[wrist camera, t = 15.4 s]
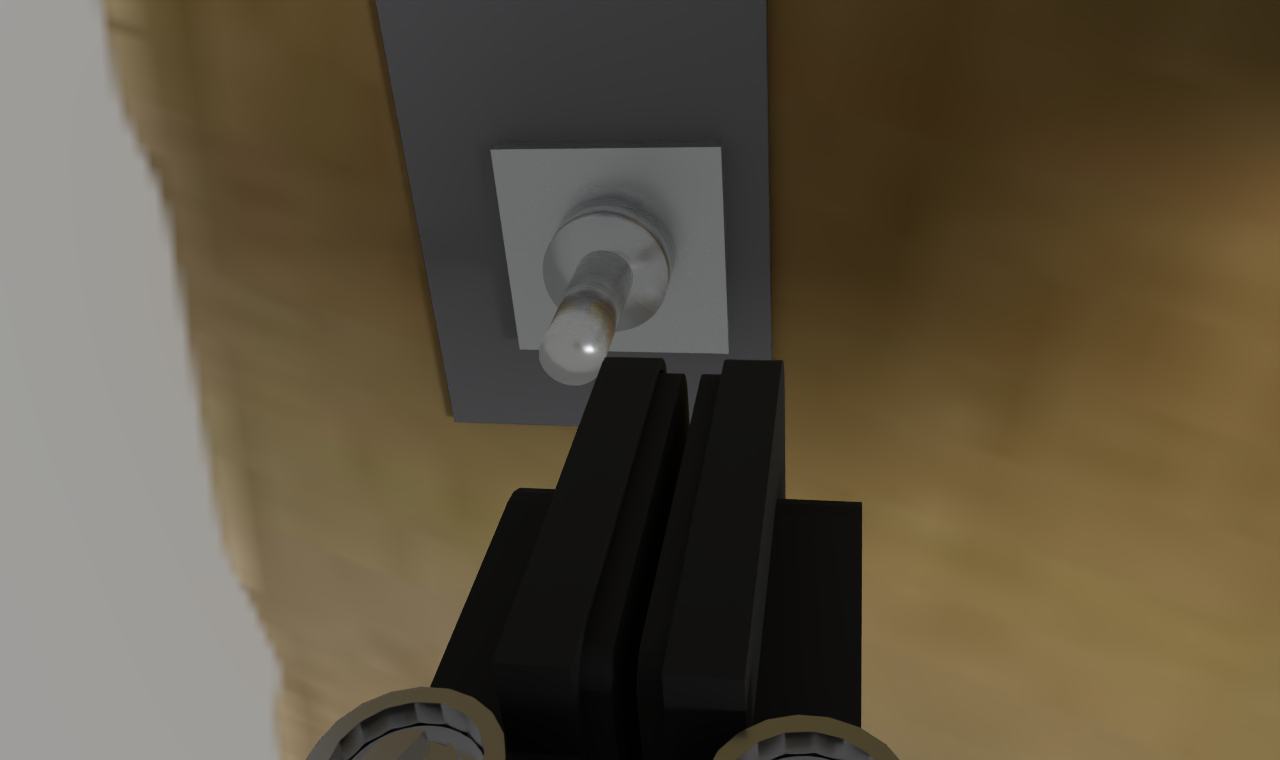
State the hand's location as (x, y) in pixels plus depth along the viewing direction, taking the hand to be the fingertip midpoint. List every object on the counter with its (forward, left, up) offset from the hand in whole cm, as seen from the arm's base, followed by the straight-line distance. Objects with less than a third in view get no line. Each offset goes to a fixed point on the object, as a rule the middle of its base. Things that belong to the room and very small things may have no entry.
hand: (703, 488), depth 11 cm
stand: (+7, +11, -29) cm, 32 cm away
